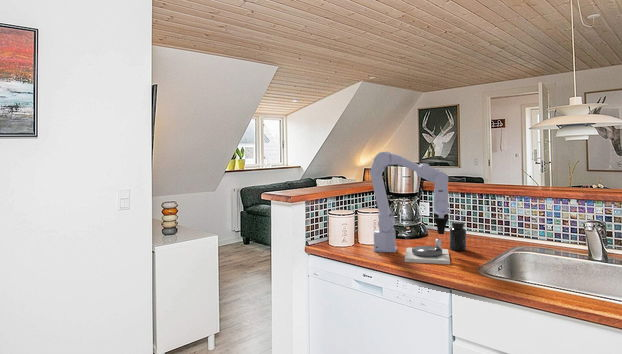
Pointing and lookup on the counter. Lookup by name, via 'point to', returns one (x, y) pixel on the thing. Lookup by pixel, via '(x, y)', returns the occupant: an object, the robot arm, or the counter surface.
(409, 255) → the dial plate
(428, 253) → the dial
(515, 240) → the counter surface
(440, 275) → the counter surface
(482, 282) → the counter surface
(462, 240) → the supplement bottle
